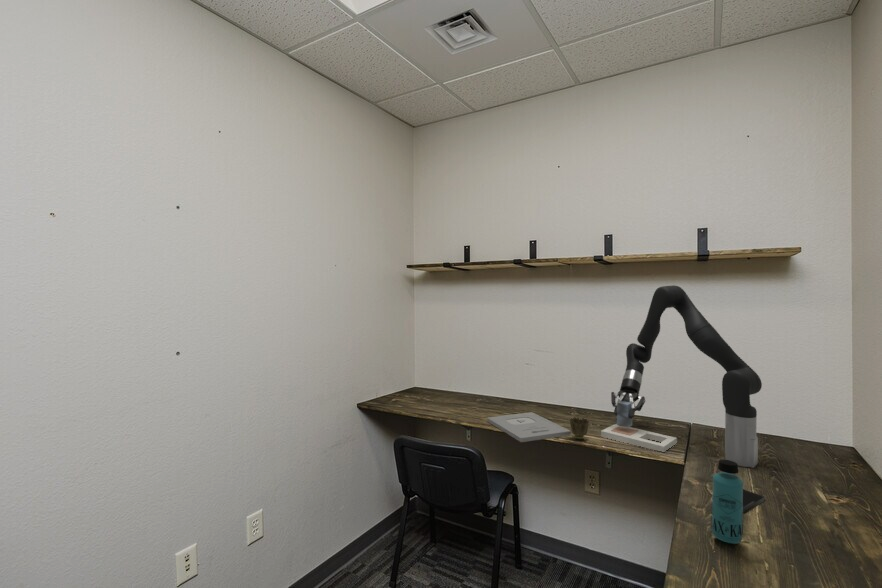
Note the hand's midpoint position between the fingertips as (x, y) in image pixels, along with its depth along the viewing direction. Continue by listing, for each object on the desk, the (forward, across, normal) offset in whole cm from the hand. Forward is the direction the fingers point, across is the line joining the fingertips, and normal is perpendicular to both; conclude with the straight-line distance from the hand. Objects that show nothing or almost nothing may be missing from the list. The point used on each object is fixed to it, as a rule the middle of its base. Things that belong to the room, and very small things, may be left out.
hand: (623, 416), depth 180 cm
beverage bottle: (+50, +42, -37) cm, 75 cm away
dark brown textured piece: (+15, -14, -2) cm, 21 cm away
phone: (+31, +42, -18) cm, 56 cm away
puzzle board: (+6, +6, +7) cm, 11 cm away
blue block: (+2, 0, +4) cm, 5 cm away
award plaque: (+16, -38, -2) cm, 41 cm away
